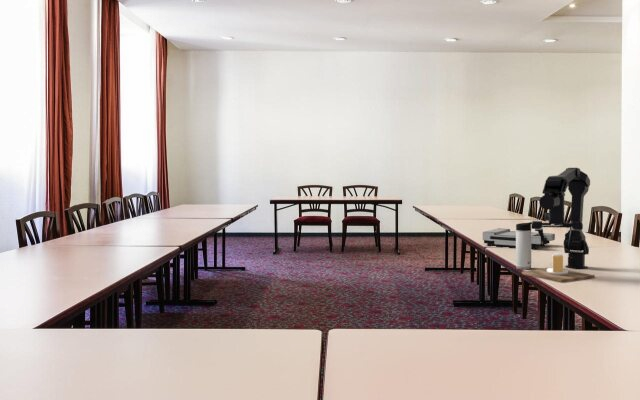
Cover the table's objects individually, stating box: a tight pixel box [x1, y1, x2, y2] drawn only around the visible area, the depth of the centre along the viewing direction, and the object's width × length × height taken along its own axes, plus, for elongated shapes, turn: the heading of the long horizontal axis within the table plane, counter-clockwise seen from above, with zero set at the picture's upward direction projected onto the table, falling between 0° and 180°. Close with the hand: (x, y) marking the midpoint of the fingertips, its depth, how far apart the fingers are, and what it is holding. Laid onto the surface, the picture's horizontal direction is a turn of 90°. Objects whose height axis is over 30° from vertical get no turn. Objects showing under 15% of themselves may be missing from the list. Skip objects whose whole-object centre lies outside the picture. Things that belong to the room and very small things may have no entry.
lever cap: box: [546, 252, 569, 275], centre depth 226 cm, size 8×8×7 cm
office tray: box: [482, 228, 556, 250], centre depth 310 cm, size 21×32×8 cm, turn 49°
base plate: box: [521, 268, 596, 284], centre depth 226 cm, size 18×20×1 cm
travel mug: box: [515, 221, 532, 271], centre depth 243 cm, size 6×7×20 cm
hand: (556, 246), depth 226 cm, fingers open, 9 cm apart
